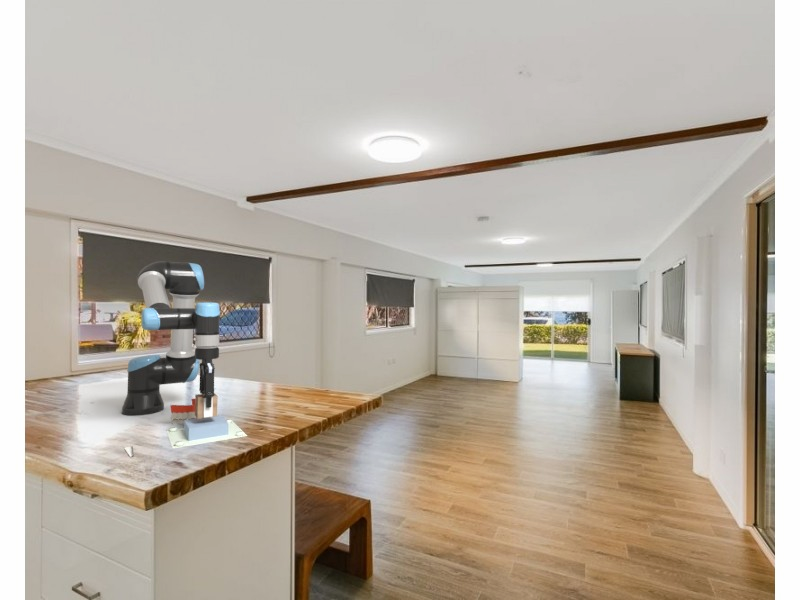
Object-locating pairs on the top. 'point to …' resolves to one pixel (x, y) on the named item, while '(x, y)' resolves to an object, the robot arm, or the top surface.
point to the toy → (182, 412)
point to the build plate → (180, 439)
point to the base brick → (205, 427)
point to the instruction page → (129, 451)
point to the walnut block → (200, 406)
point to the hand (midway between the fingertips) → (206, 414)
